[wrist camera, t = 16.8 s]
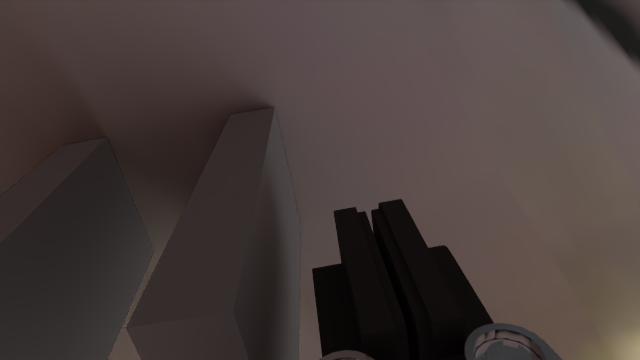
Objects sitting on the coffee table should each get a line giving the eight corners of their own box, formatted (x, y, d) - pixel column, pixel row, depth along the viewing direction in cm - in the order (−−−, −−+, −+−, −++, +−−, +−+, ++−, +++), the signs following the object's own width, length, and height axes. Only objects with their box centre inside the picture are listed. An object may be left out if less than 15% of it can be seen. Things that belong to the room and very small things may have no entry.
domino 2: (275, 106, 15) (232, 312, 6) (300, 225, 17) (296, 501, 9) (230, 114, 15) (126, 327, 6) (261, 231, 18) (216, 511, 9)
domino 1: (107, 137, 15) (-135, 377, 6) (154, 251, 17) (25, 549, 9) (61, 145, 15) (-245, 398, 6) (114, 259, 17) (-56, 565, 9)
